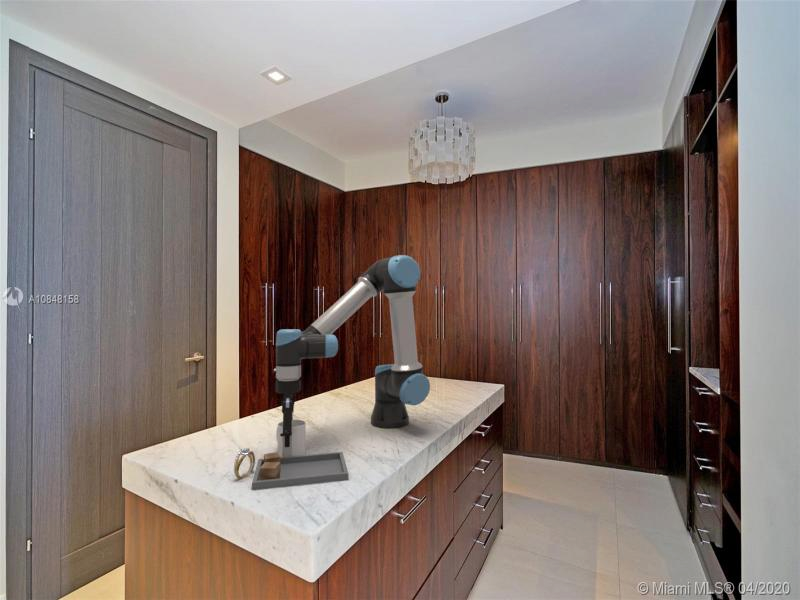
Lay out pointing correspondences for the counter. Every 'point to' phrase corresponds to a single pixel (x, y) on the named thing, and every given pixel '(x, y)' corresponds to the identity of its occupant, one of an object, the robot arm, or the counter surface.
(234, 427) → the counter surface
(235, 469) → the ring
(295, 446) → the cup
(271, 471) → the block
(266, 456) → the block
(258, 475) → the tray
